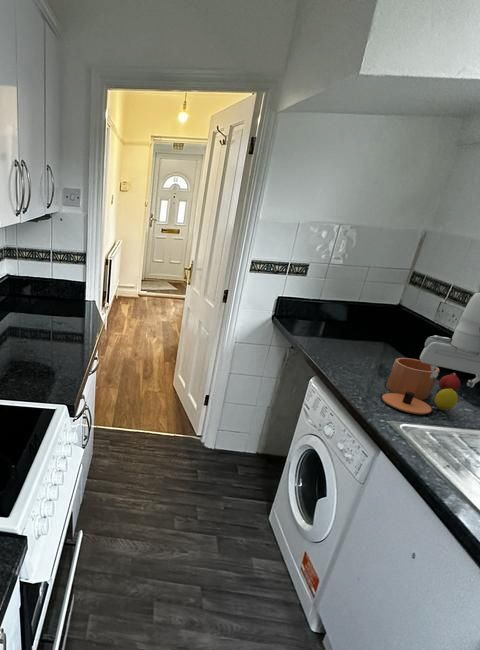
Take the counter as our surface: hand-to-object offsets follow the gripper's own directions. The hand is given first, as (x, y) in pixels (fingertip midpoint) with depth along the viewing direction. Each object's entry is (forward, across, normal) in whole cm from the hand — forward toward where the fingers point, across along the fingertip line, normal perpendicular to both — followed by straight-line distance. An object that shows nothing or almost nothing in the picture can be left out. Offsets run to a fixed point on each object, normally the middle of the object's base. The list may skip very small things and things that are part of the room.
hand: (450, 382), depth 133 cm
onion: (+10, +4, +18) cm, 21 cm away
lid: (+10, -9, -4) cm, 14 cm away
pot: (+10, -8, +10) cm, 17 cm away
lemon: (+10, +1, 0) cm, 10 cm away
